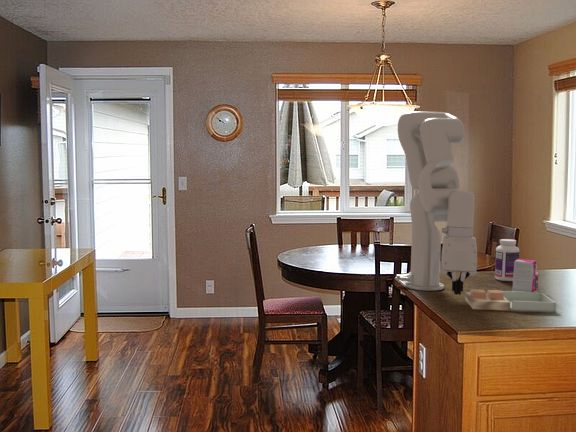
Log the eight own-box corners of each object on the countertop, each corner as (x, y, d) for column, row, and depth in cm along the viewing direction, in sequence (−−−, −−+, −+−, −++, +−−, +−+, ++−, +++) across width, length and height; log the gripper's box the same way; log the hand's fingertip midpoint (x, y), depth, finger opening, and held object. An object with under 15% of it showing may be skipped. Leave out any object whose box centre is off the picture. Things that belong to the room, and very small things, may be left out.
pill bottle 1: (520, 279, 238) (522, 239, 236) (515, 283, 231) (517, 242, 230) (497, 276, 242) (499, 237, 241) (491, 280, 235) (493, 240, 234)
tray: (512, 311, 189) (512, 301, 189) (501, 300, 203) (501, 290, 202) (555, 313, 188) (556, 302, 187) (541, 302, 202) (541, 292, 201)
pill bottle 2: (538, 293, 214) (540, 266, 213) (522, 292, 215) (523, 265, 214) (536, 290, 219) (537, 263, 219) (519, 289, 220) (521, 262, 220)
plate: (472, 309, 191) (472, 300, 191) (465, 299, 203) (465, 292, 202) (509, 310, 190) (510, 302, 190) (500, 301, 202) (500, 293, 201)
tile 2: (489, 298, 194) (489, 292, 194) (486, 295, 198) (487, 289, 198) (503, 299, 194) (503, 293, 193) (500, 296, 198) (500, 290, 197)
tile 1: (472, 297, 194) (472, 291, 194) (469, 295, 198) (470, 289, 198) (486, 298, 194) (486, 292, 194) (483, 295, 198) (483, 289, 198)
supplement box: (530, 298, 206) (532, 262, 205) (511, 296, 209) (513, 260, 208) (534, 295, 211) (536, 260, 210) (515, 293, 214) (517, 258, 213)
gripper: (435, 233, 192) (433, 295, 194) (488, 234, 190) (485, 297, 192) (432, 230, 199) (430, 290, 201) (483, 231, 198) (480, 292, 200)
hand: (457, 293), depth 197 cm, fingers closed
